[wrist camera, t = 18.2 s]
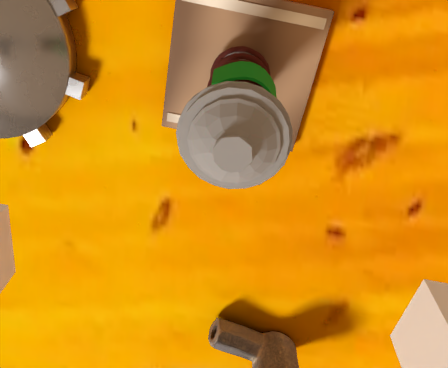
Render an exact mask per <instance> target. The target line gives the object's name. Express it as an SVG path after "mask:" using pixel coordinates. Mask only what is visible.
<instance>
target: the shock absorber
mask: <svg viewBox="0 0 448 368" xmlns="http://www.w3.org/2000/svg"><path fill="white" fill-rule="evenodd" d="M176 135H177V142H178V147H179V152H180V155H181V156H182V158H183V159H184V161H185V163H186V164H187V166H188V167H189V168H190V169H191V170H192V171H193V172H194V173H195V174H196V175H197V176H198V177H199V178H201V179H203V180H205V181H207V182H208V183H211V184H213V185H215V186H219V187H223V188H227V189H239V188H249V187H252V186H255V185H259V184H261V183H263V182H264V181H266V180H268V179H269V178H271V177H272V176H274V175H275V174H276V173H277V172H278V171H279V170H280V169H281V168H282V167H283V165H284V164H285V162H286V159H287V157H288V155H289V152H290V150H291V148H292V142H293V129H292V126H291V122H290V117H289V115H288V113H287V111H286V110H285V108H284V106H283V105H282V103H281V102H280V101H279V100H278V99H277V97H276V87H275V84H274V82H273V80H272V78H271V76H270V69H269V65H268V63H267V61H266V60H265V58H264V56H262V55H261V54H260V53H259V52H257V51H255V50H254V49H252V48H249V47H246V46H237V47H231V48H229V49H227V50H225V51H223V52H222V53H221V54H219V56H218V57H217V58H216V59H215V61H214V63H213V65H212V68H211V72H210V80H209V82H208V84H207V88H205V89H203V90H202V91H200V92H199V93H197V94H195V95H194V96H193V97H192V98H191V99H190V101H189V102H188V103H187V104H186V106H185V107H184V109H183V111H182V113H181V115H180V118H179V121H178V125H177V131H176Z"/></svg>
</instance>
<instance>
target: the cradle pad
mask: <svg viewBox="0 0 448 368" xmlns="http://www.w3.org/2000/svg"><path fill="white" fill-rule="evenodd" d="M333 14H334V11H333V10H331V9H326V8H321V7H317V6H312V5H307V4H302V3H297V2H293V1H288V0H176V2H175V11H174V20H173V29H172V38H171V47H170V56H169V65H168V74H167V83H166V92H165V101H164V110H163V119H162V126H164V127H169V128H174V129H177V125H178V121H179V118H180V115H181V113H182V111H183V109H184V107H185V106H186V104H187V103H188V102H189V101H190V99H191V98H192V97H193V96H194V95H195V94H197V93H199V92H200V91H202V90H203V89H205V88H207V84H208V82H209V80H210V72H211V68H212V65H213V63H214V61H215V59H216V58H217V57H218V56H219V54H221V53H222V52H223V51H225V50H227V49H229V48H231V47H237V46H246V47H249V48H252V49H254V50H255V51H257V52H259V53H260V54H261V55H262V56H264V58H265V60H266V61H267V63H268V65H269V69H270V76H271V78H272V80H273V82H274V84H275V87H276V97H277V99H278V100H279V101H280V102H281V103H282V105H283V106H284V108H285V110H286V111H287V113H288V115H289V117H290V122H291V126H292V129H293V142H292V148H291V150H290V151H292V150H293V147H294V144H295V140H296V137H297V134H298V130H299V127H300V124H301V120H302V117H303V114H304V110H305V107H306V104H307V100H308V97H309V94H310V91H311V87H312V84H313V81H314V77H315V74H316V71H317V67H318V64H319V61H320V57H321V54H322V51H323V47H324V44H325V41H326V37H327V34H328V31H329V28H330V24H331V21H332V18H333Z"/></svg>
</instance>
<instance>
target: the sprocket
mask: <svg viewBox="0 0 448 368" xmlns="http://www.w3.org/2000/svg"><path fill="white" fill-rule="evenodd" d="M77 8H79V7H78V6H77V4H76V2H75V0H0V138H11V137H17V136H21V135H23V136H24V138H25V139H26V140H27V142H28V143H29V145H30V146H31V147H33V146H35V145H38V144H40V143H43V142H45V141H46V140H47V139H49V138H50V137H51V136H52V135H53V134H52V132H51V131H50V129H49V128H48V126H47V125H46V122H47V121H48V120H49V119H50V118H52V117H53V116H54V115H55V114H56V113H57V112H58V111H59V110H60V109H61V108H62V107H63V105H64V104H65V102H66V101H67V99H68V97H69V96H71V97H74V98H76V99H79V100H81V99H82V98H83V97H84V96H85V95H86V94H87V91H88V87H89V82H90V77H88V76H85V75H83V74H80V73H78V72H76V70H77V54H76V46H75V41H74V36H73V32H72V29H71V26H70V24H69V21H68V18H67V16H66V14H67V13H69V12H71V11H73V10H75V9H77Z"/></svg>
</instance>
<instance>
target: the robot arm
mask: <svg viewBox="0 0 448 368" xmlns="http://www.w3.org/2000/svg"><path fill="white" fill-rule="evenodd" d="M14 273H15V264H14V255H13V246H12V237H11V228H10V219H9V211H8V205H4V204H0V293H1V291H2V290H3V289H4V287H5V286H6V284H7V283H8V282H9V280H10V279H11V277H12V276H13V275H14ZM390 337H391V340H392V343H393V345H394V348H395V351H396V354H397V356H398V359H399V362H400V365H401V367H402V368H448V285H447V283H442V282H436V281H431V280H425V279H424V280H423V281H422V283H421V285H420V286H419V288H418V290H417V291H416V293H415V295H414V296H413V298H412V300H411V302H410V303H409V305H408V307H407V308H406V310H405V312H404V313H403V315H402V317H401V318H400V320H399V322H398V323H397V325H396V327H395V328H394V330H393V332H392V333H391V335H390Z"/></svg>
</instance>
